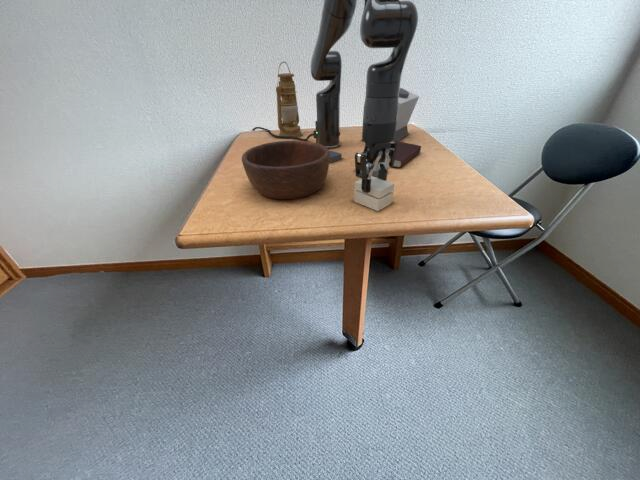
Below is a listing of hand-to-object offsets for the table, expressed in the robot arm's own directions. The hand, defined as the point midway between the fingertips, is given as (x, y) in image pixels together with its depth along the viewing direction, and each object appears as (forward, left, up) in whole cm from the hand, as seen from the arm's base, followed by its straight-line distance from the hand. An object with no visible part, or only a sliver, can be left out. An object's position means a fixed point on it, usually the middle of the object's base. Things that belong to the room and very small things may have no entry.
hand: (373, 187), depth 71 cm
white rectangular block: (0, 0, -4) cm, 4 cm away
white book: (0, 0, -1) cm, 1 cm away
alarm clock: (-34, +55, -4) cm, 65 cm away
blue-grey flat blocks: (-24, +17, -4) cm, 30 cm away
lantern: (-72, +29, -4) cm, 78 cm away
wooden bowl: (-25, -9, -4) cm, 27 cm away
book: (-16, +34, -4) cm, 38 cm away
